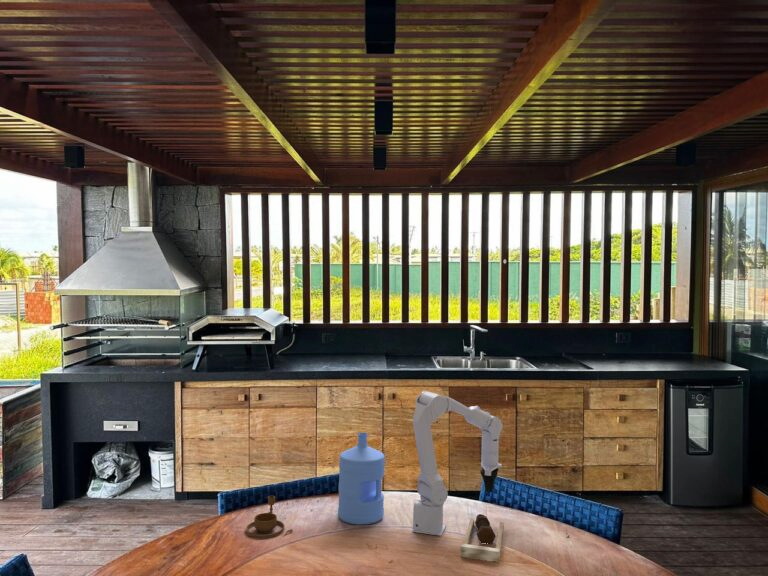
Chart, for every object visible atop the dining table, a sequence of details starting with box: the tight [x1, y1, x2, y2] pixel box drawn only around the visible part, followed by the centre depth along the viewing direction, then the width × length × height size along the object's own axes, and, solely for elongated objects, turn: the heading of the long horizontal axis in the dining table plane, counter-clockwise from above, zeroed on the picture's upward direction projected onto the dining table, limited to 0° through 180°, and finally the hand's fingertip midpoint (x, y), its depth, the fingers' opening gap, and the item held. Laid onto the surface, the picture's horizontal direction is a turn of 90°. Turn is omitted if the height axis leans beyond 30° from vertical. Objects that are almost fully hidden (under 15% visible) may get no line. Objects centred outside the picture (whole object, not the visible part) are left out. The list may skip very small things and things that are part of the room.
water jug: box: [337, 432, 386, 526], centre depth 185 cm, size 16×16×28 cm
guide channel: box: [460, 517, 505, 563], centre depth 167 cm, size 11×24×3 cm, turn 164°
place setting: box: [245, 495, 293, 539], centre depth 176 cm, size 18×20×6 cm
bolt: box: [474, 513, 496, 545], centre depth 173 cm, size 6×5×15 cm
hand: (489, 490), depth 186 cm, fingers open, 2 cm apart
